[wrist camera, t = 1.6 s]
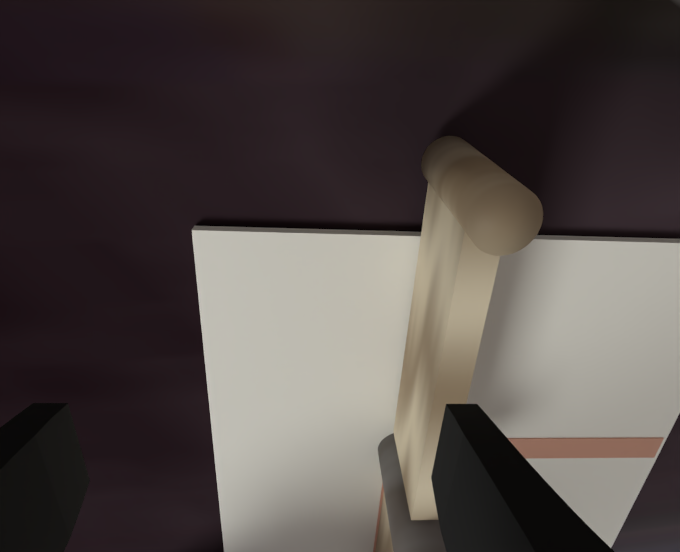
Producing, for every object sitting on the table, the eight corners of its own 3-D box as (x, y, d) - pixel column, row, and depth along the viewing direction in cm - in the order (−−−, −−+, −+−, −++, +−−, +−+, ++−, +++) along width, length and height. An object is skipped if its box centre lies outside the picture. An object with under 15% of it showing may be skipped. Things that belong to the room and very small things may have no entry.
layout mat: (592, 570, 27) (596, 578, 26) (228, 579, 25) (227, 588, 25) (755, 241, 17) (766, 246, 17) (194, 225, 16) (191, 231, 16)
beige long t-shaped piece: (424, 431, 20) (456, 547, 16) (386, 431, 20) (407, 548, 15) (477, 136, 14) (551, 187, 10) (424, 134, 14) (476, 184, 10)
